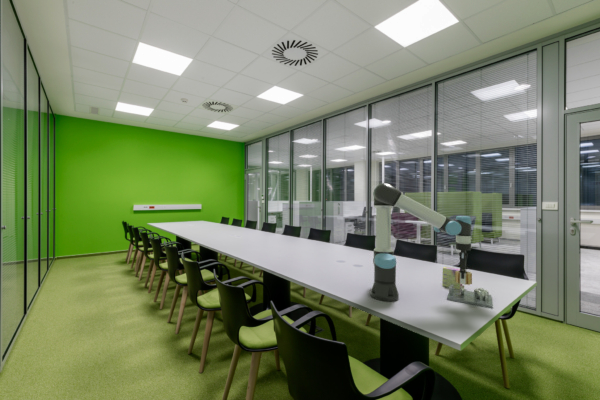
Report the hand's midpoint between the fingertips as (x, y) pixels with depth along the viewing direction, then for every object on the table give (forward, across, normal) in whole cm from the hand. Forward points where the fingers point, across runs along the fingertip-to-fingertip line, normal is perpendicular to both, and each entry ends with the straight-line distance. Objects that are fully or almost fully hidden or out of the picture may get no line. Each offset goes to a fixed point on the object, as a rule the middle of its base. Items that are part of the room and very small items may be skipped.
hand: (463, 282), depth 158 cm
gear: (0, 0, 0) cm, 0 cm away
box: (+8, +17, +7) cm, 20 cm away
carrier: (+8, -1, -3) cm, 9 cm away
